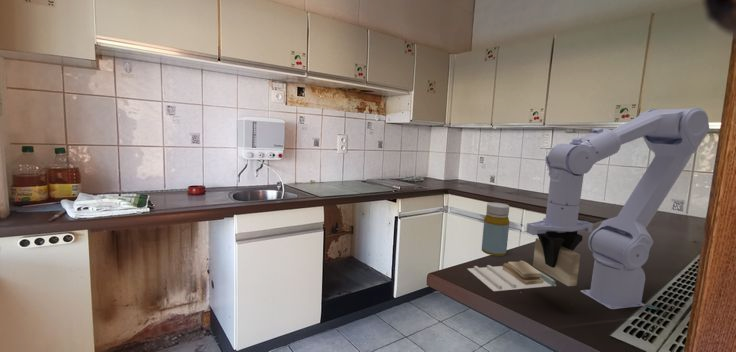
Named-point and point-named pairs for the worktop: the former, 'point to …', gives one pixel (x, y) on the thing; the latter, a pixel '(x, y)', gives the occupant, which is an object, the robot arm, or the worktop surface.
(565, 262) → the birch panel
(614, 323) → the worktop surface
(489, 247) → the bottle
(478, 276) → the board
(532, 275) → the offcut stack
